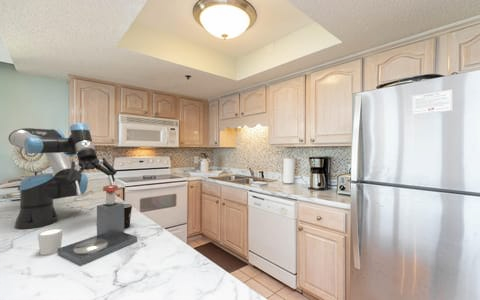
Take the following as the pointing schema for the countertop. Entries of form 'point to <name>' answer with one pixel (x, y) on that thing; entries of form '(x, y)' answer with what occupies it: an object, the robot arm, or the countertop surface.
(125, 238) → the press
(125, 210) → the coffee mug
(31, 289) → the countertop surface
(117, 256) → the countertop surface
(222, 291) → the countertop surface
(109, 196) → the ram
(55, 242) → the white tapered cup
